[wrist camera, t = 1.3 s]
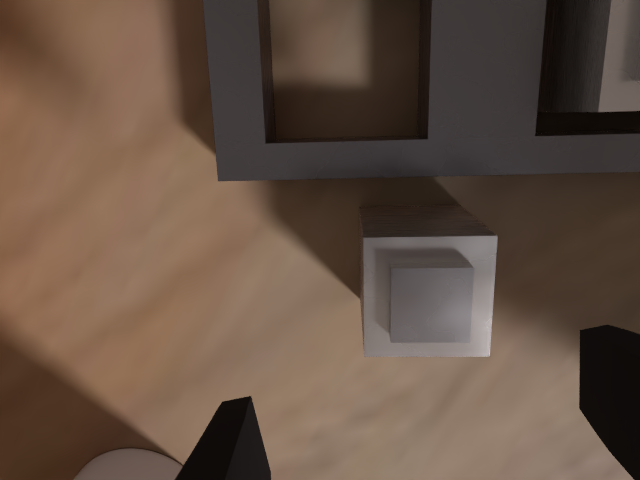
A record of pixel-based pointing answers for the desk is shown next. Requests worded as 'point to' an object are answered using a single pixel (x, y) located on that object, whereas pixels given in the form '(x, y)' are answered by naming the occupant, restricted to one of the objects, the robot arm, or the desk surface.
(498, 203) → the desk surface
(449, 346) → the stepped square block
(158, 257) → the desk surface
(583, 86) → the square peg with knob
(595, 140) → the plate with square hole
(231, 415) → the robot arm
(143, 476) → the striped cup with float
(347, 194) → the desk surface
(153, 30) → the desk surface
